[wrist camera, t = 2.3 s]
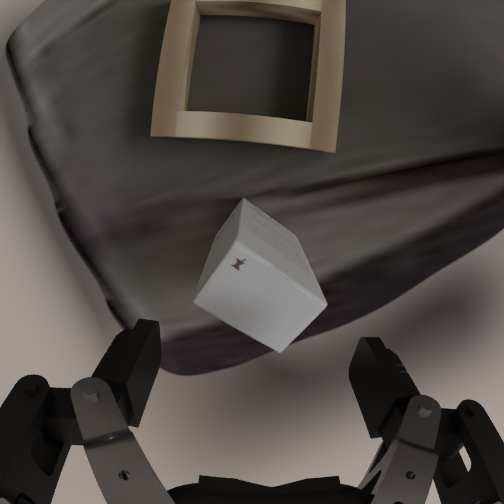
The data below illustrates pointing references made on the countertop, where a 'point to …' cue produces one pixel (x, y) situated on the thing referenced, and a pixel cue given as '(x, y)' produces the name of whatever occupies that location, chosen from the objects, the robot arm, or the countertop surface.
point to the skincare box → (259, 279)
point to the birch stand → (242, 125)
